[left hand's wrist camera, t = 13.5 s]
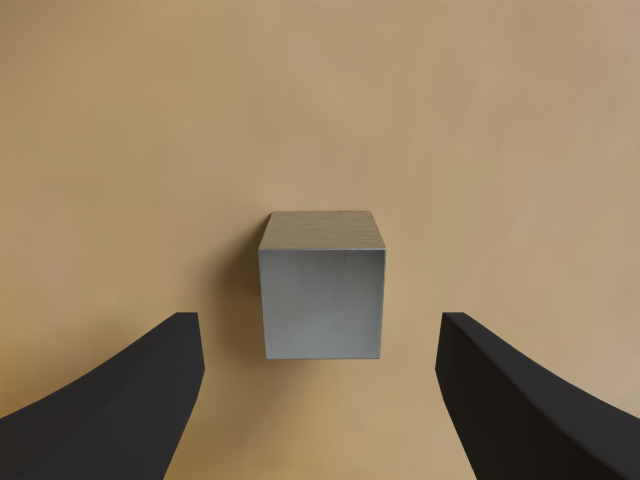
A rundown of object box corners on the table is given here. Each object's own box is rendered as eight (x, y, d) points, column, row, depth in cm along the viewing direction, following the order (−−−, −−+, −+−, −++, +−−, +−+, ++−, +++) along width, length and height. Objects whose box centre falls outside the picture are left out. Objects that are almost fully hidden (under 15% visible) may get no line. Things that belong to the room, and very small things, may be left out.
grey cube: (271, 211, 16) (257, 249, 12) (371, 211, 16) (386, 248, 12) (277, 302, 18) (265, 360, 14) (367, 301, 18) (380, 359, 14)
